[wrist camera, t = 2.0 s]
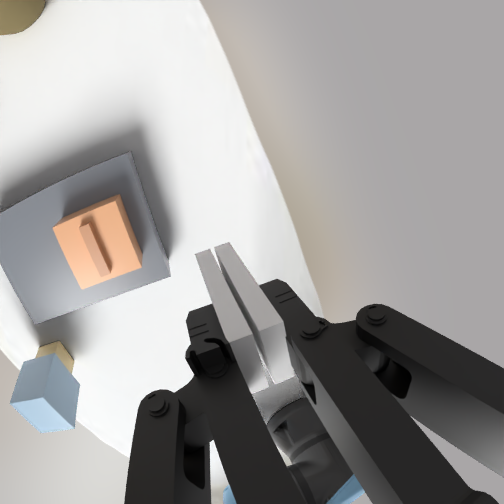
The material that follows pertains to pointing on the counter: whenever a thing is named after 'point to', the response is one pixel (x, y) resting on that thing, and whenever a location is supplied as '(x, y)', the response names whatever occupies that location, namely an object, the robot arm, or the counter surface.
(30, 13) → the squeeze bottle
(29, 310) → the socket plate
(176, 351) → the counter surface
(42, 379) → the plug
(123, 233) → the orange ridged block
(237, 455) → the robot arm
